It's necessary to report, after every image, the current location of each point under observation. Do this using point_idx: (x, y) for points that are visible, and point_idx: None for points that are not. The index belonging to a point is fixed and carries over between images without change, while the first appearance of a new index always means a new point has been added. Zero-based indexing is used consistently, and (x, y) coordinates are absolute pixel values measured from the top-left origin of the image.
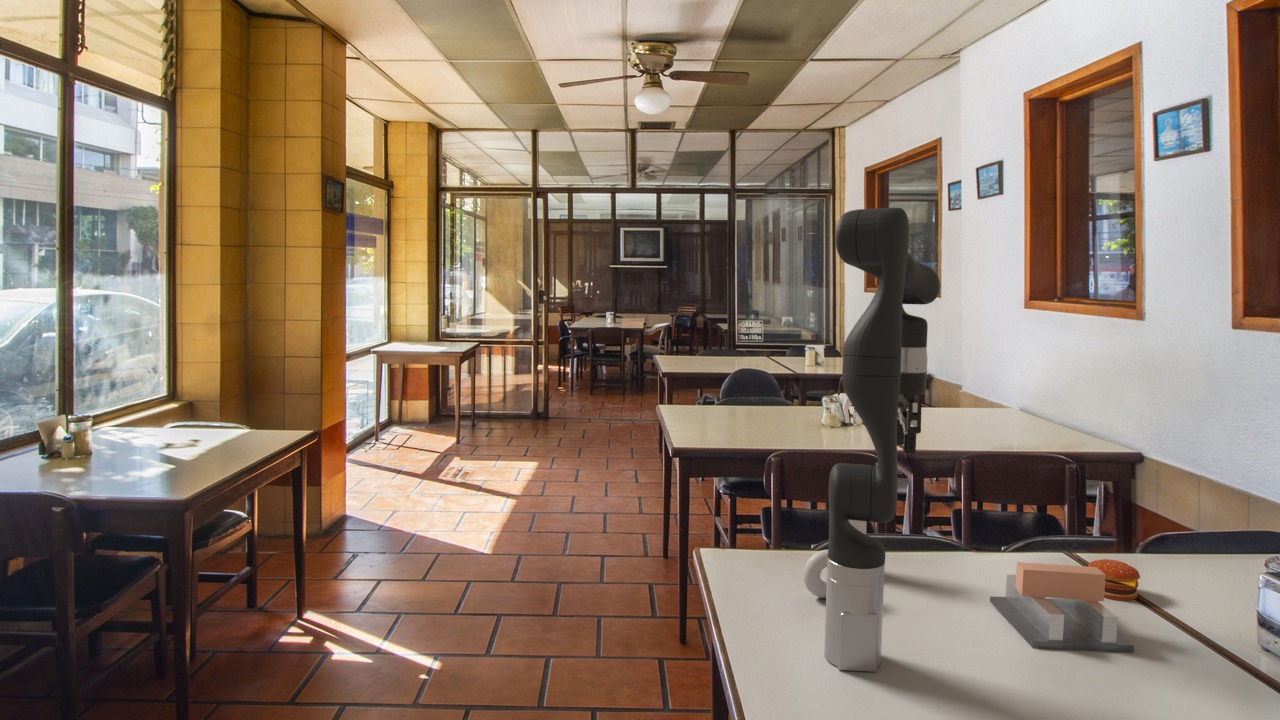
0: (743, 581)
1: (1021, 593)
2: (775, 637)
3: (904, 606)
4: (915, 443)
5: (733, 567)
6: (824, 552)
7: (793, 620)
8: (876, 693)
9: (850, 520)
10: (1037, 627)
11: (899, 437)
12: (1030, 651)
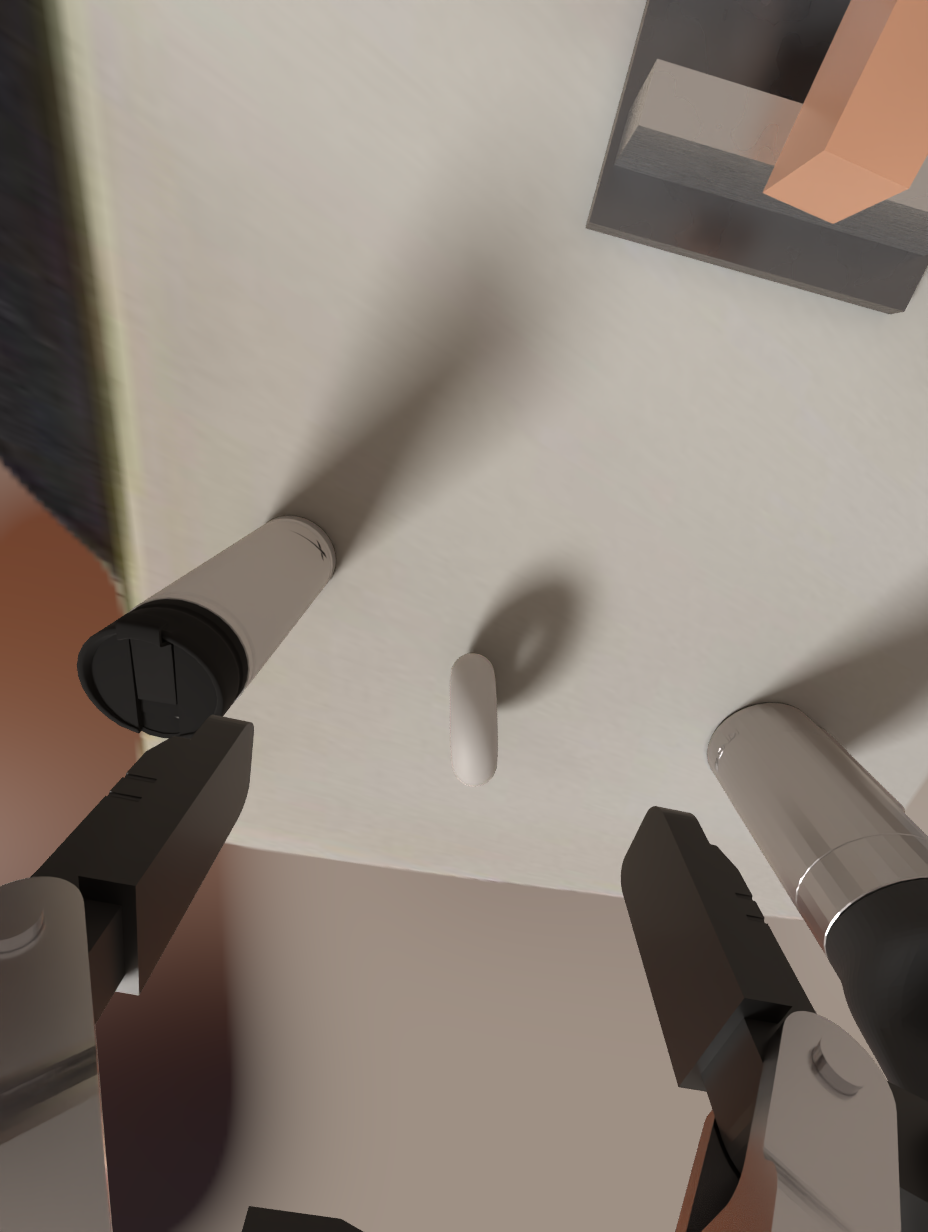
0: (360, 808)
1: (831, 220)
2: (635, 829)
3: (556, 525)
4: (732, 897)
5: (274, 805)
6: (482, 770)
7: (573, 781)
8: (884, 757)
9: (277, 646)
10: (857, 232)
11: (212, 812)
12: (900, 336)
